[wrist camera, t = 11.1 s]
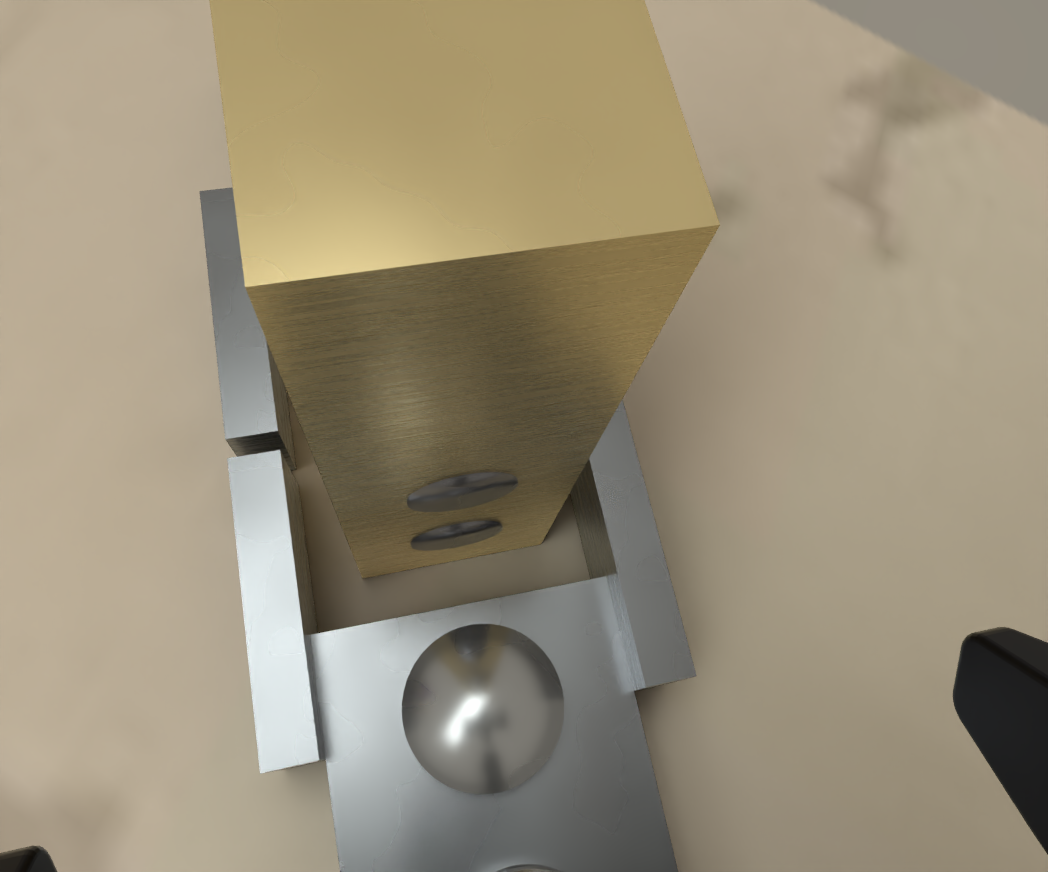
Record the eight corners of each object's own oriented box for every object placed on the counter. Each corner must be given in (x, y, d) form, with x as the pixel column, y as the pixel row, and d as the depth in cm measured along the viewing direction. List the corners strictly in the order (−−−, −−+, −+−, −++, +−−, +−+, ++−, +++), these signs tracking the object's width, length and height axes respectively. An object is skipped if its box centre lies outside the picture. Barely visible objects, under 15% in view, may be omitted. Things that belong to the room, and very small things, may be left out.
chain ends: (738, 983, 16) (789, 1023, 14) (321, 1105, 15) (301, 1172, 13) (499, 45, 24) (506, -32, 21) (205, 69, 22) (178, -9, 20)
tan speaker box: (541, 546, 19) (721, 229, 7) (363, 580, 18) (245, 291, 7) (495, 344, 21) (582, -181, 9) (330, 369, 20) (189, -164, 8)
